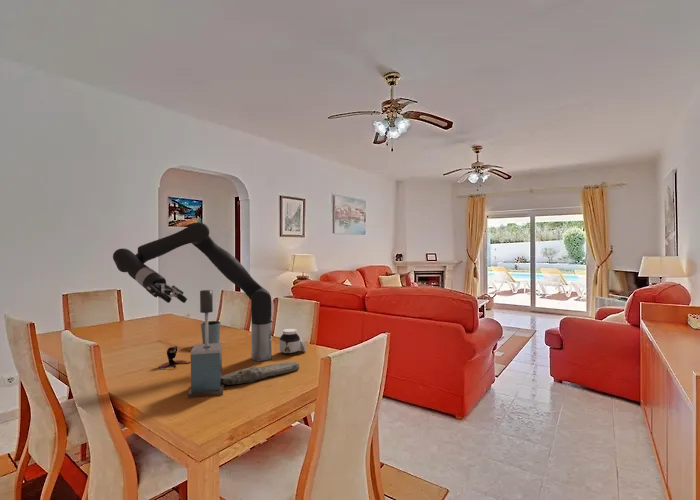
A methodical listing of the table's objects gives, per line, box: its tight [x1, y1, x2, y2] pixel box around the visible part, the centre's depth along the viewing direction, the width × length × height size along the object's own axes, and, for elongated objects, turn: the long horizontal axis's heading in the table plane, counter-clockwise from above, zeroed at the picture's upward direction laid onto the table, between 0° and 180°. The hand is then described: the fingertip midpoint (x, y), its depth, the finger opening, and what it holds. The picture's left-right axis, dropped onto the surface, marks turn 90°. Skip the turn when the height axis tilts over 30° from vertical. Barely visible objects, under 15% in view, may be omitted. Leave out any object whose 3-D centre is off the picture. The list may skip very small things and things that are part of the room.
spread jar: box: [278, 328, 307, 356], centre depth 195 cm, size 12×11×12 cm
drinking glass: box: [200, 320, 221, 344], centre depth 209 cm, size 10×10×12 cm
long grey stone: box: [221, 361, 300, 385], centre depth 161 cm, size 35×5×10 cm
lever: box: [199, 289, 214, 348], centre depth 146 cm, size 4×4×25 cm
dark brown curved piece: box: [157, 345, 189, 371], centre depth 177 cm, size 11×12×15 cm
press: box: [187, 342, 226, 399], centre depth 146 cm, size 12×12×16 cm
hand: (178, 300), depth 150 cm, fingers open, 8 cm apart
